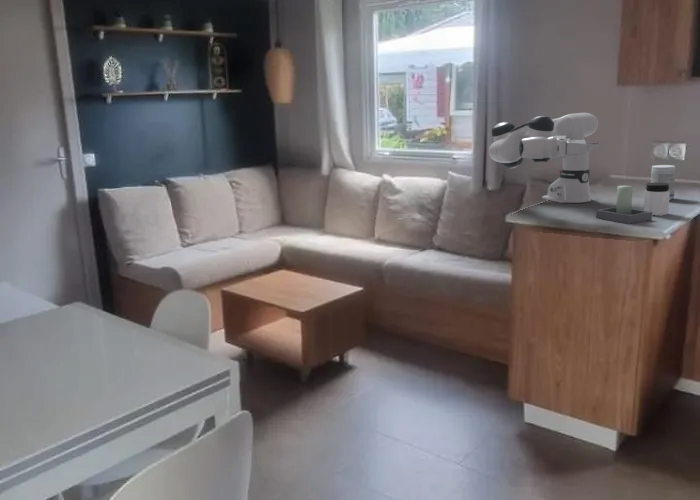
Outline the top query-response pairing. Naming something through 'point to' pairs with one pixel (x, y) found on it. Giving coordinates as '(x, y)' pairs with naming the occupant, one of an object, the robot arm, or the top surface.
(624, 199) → the pale green cylinder
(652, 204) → the jar
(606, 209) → the tray
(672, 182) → the supplement tub
